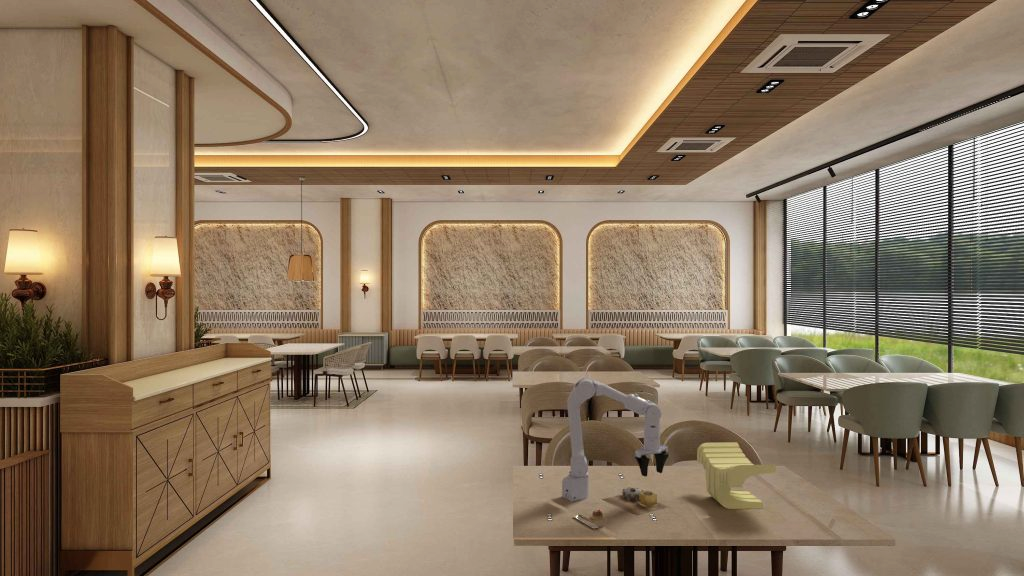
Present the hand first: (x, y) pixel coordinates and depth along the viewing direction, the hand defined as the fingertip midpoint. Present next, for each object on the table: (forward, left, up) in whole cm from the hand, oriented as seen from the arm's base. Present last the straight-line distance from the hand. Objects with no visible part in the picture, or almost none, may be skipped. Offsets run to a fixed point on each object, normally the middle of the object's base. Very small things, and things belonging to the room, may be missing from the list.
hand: (651, 474), depth 217 cm
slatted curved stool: (+25, -16, -10) cm, 31 cm away
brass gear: (-5, -3, -9) cm, 11 cm away
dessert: (-29, -4, -11) cm, 31 cm away
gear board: (-9, 0, -10) cm, 13 cm away
